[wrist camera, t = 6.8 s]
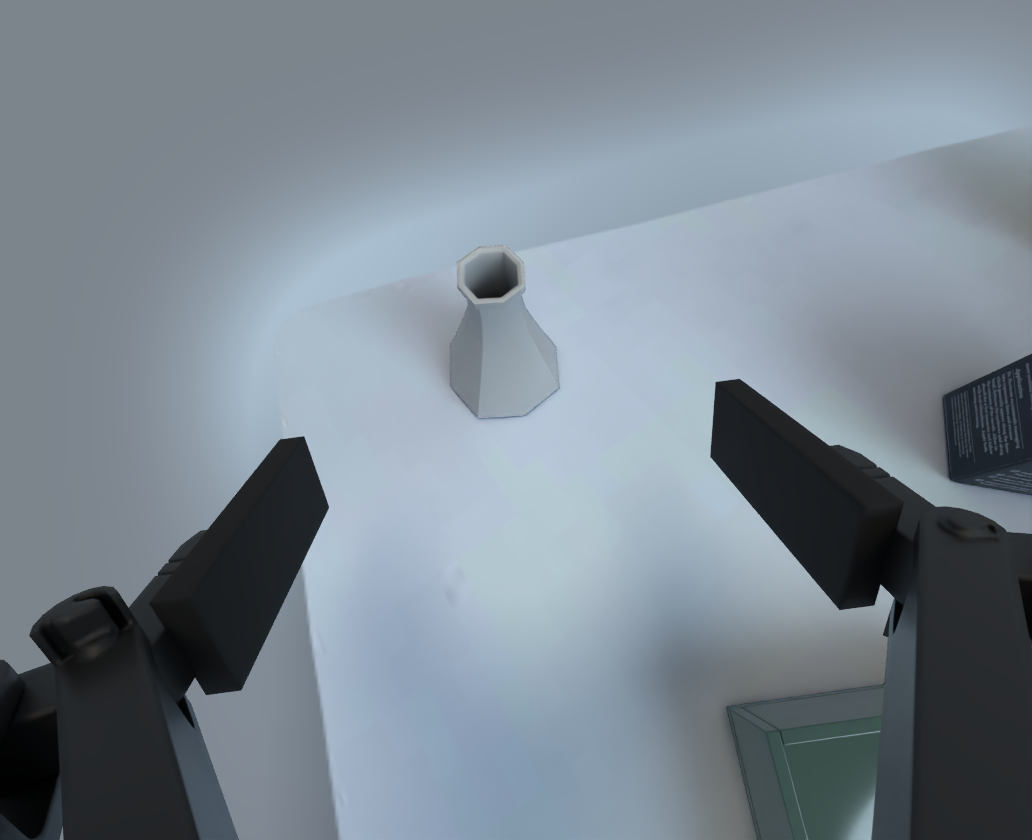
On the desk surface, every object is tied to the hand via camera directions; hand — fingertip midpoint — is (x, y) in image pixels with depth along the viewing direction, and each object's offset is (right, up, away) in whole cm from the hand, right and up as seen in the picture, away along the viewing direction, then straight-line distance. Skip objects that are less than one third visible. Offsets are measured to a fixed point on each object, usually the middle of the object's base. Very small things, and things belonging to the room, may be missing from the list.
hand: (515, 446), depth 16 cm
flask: (-1, +4, +16) cm, 16 cm away
